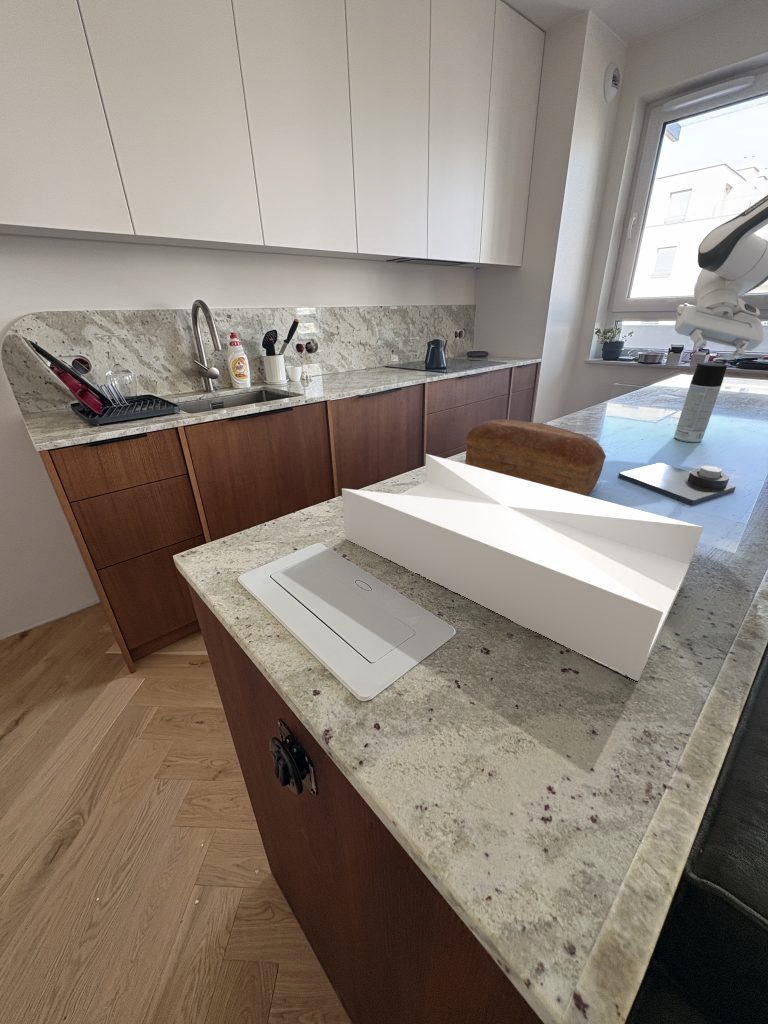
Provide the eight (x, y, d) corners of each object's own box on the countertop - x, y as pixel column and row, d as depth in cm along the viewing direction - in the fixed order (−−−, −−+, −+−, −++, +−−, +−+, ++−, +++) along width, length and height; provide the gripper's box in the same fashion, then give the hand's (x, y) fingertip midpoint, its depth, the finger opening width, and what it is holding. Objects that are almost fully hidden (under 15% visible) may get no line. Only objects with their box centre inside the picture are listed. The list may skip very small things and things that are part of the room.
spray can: (699, 437, 118) (724, 362, 109) (704, 444, 113) (731, 366, 104) (672, 434, 121) (694, 361, 112) (675, 441, 115) (699, 365, 106)
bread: (487, 458, 106) (492, 409, 100) (604, 488, 88) (618, 431, 83) (455, 473, 97) (458, 421, 91) (578, 510, 79) (591, 448, 74)
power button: (723, 477, 86) (726, 469, 85) (712, 480, 84) (715, 472, 84) (704, 472, 89) (707, 464, 88) (694, 475, 87) (697, 467, 87)
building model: (345, 539, 71) (341, 488, 67) (424, 497, 86) (425, 453, 81) (637, 682, 44) (663, 612, 40) (681, 585, 58) (704, 526, 54)
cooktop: (734, 492, 86) (740, 478, 84) (691, 506, 80) (696, 491, 79) (659, 467, 99) (663, 454, 97) (617, 477, 93) (620, 465, 92)
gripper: (685, 292, 106) (687, 331, 101) (766, 311, 106) (772, 352, 100) (668, 312, 112) (669, 350, 107) (744, 331, 111) (749, 370, 106)
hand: (720, 351), depth 103 cm, fingers open, 8 cm apart
